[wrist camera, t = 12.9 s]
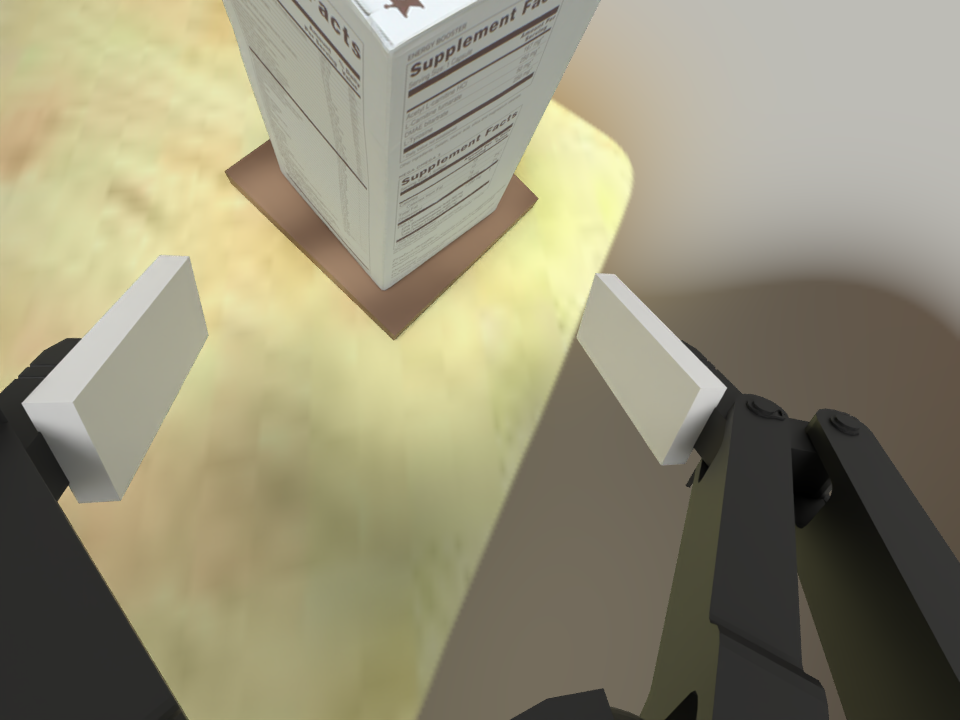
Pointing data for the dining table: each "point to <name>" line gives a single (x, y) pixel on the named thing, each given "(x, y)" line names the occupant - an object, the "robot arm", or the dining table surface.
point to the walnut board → (322, 247)
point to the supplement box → (403, 109)
